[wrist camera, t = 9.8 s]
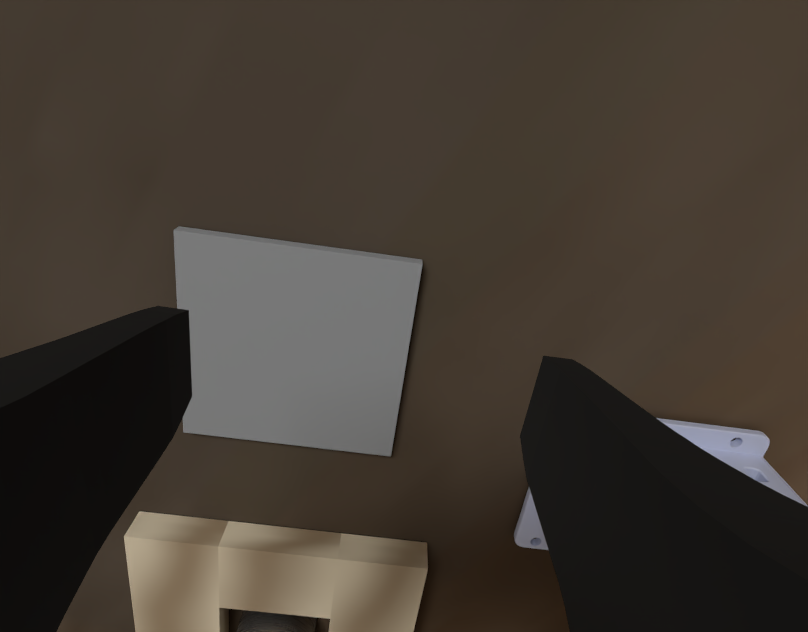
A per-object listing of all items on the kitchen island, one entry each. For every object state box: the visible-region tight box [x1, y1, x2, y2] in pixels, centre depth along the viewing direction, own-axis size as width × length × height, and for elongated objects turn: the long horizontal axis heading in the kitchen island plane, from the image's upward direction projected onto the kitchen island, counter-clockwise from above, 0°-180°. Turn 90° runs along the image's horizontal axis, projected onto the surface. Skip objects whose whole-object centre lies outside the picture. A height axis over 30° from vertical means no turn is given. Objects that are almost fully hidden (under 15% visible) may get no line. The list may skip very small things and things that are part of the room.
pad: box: [174, 226, 423, 456], centre depth 21 cm, size 9×9×1 cm
